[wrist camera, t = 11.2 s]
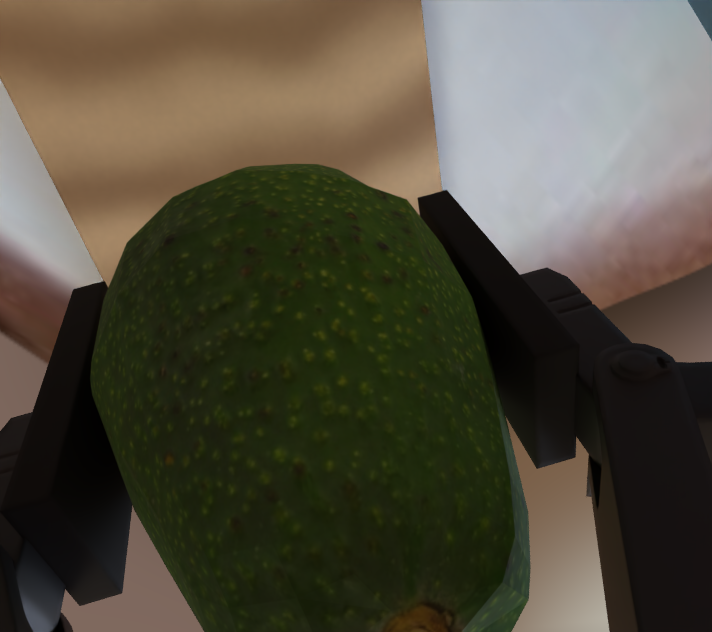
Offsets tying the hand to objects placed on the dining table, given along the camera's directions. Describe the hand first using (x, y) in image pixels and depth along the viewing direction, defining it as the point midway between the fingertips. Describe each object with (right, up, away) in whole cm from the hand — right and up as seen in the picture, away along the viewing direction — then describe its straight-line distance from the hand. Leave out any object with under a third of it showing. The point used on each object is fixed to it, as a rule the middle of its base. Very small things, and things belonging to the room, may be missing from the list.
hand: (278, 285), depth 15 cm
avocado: (0, +1, +2) cm, 2 cm away
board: (-2, +6, +8) cm, 10 cm away
